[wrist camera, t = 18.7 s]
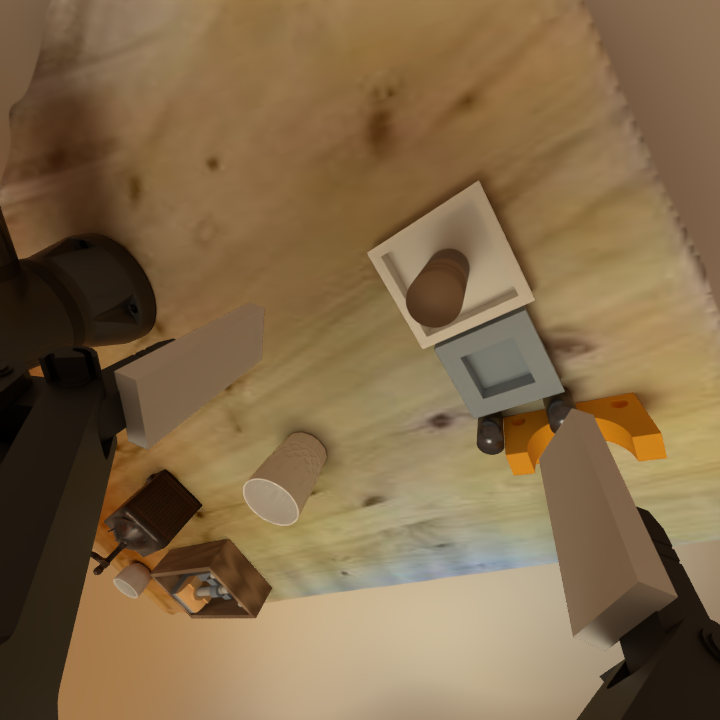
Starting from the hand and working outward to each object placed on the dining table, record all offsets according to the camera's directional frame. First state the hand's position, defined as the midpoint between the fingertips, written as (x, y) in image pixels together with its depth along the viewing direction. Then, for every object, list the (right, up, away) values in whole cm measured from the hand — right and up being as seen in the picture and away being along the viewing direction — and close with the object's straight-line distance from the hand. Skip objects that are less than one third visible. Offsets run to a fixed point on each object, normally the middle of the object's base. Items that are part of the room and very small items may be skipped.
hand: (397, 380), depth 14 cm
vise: (-34, -48, +64) cm, 86 cm away
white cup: (-10, -12, +37) cm, 40 cm away
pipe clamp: (+21, -6, +22) cm, 31 cm away
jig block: (+13, +1, +21) cm, 25 cm away
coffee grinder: (-41, -27, +56) cm, 75 cm away
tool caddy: (-33, -46, +63) cm, 85 cm away
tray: (+7, +10, +19) cm, 22 cm away
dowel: (+7, +9, +18) cm, 22 cm away
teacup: (-60, -55, +78) cm, 113 cm away
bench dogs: (+16, -4, +23) cm, 28 cm away
